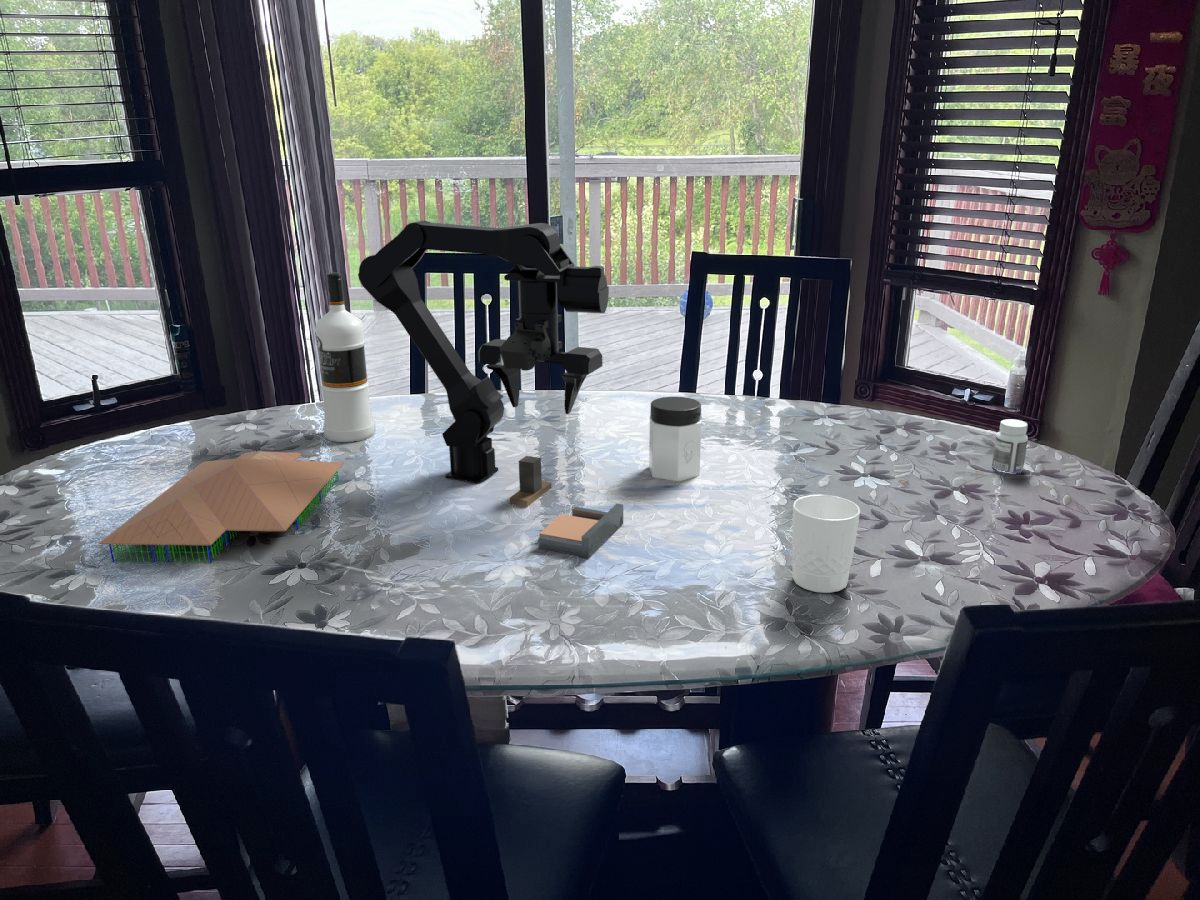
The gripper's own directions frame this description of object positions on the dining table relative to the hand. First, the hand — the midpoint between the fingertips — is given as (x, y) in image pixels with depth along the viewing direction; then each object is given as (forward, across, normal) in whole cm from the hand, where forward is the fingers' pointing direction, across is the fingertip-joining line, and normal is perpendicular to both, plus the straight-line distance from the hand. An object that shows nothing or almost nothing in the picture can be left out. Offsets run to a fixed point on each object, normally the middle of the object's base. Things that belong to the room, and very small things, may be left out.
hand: (541, 410), depth 139 cm
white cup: (+12, +47, -16) cm, 51 cm away
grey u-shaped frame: (+12, +14, -16) cm, 25 cm away
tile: (+13, +13, -16) cm, 24 cm away
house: (+13, -36, -29) cm, 47 cm away
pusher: (+12, +1, -6) cm, 14 cm away
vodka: (+12, -43, +6) cm, 45 cm away
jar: (+12, +18, +12) cm, 25 cm away
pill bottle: (+12, +68, +34) cm, 77 cm away
